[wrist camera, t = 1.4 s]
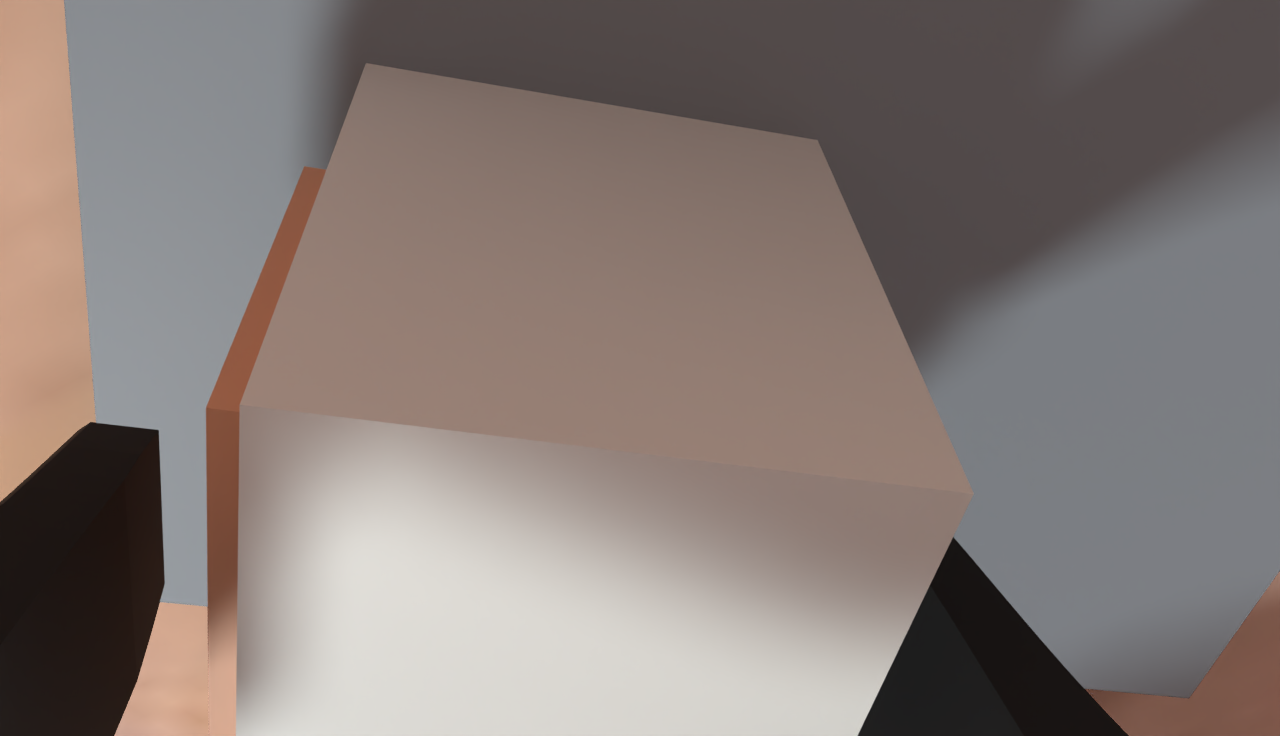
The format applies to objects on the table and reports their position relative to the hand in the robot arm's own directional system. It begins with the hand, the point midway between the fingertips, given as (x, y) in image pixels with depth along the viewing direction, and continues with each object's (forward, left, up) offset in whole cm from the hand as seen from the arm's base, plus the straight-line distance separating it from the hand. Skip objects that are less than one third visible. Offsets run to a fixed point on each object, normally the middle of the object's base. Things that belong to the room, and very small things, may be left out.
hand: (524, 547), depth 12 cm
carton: (0, 0, -3) cm, 3 cm away
